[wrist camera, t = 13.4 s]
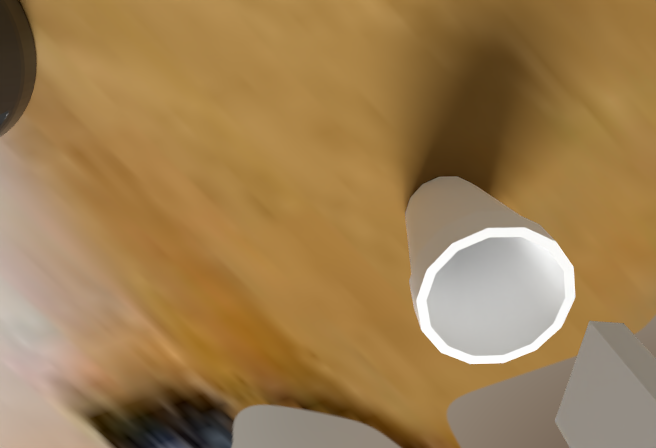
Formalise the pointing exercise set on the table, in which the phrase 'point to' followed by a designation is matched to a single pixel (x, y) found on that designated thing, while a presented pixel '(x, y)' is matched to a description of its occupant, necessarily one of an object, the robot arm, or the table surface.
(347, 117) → the table surface
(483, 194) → the foam cup
